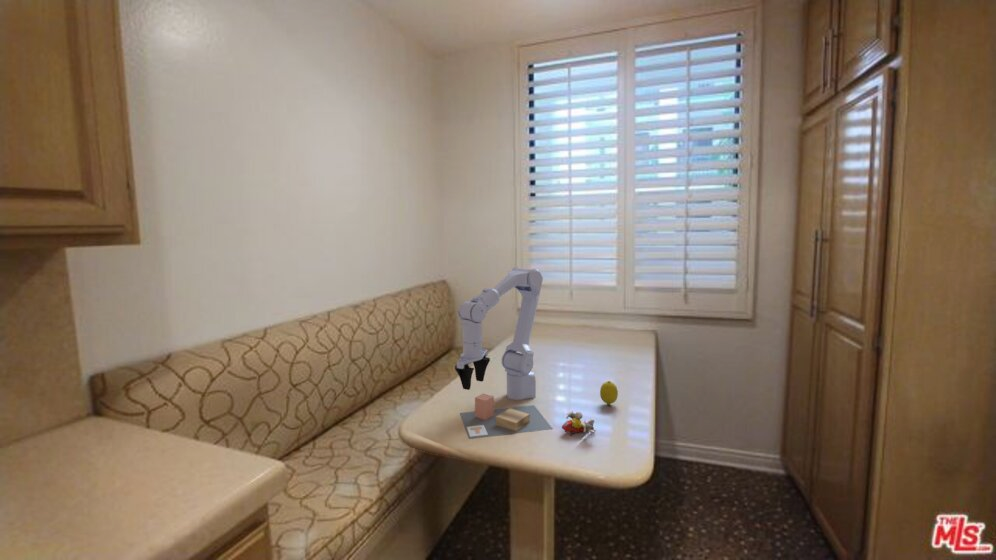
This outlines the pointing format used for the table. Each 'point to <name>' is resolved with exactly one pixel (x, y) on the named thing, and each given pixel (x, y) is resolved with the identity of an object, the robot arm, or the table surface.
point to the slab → (513, 419)
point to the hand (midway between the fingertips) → (473, 384)
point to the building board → (489, 428)
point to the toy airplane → (577, 424)
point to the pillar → (484, 406)
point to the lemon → (608, 392)
